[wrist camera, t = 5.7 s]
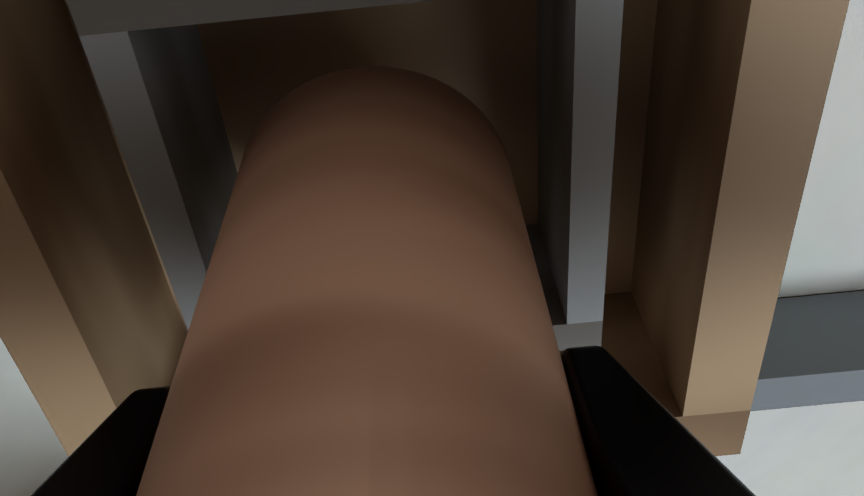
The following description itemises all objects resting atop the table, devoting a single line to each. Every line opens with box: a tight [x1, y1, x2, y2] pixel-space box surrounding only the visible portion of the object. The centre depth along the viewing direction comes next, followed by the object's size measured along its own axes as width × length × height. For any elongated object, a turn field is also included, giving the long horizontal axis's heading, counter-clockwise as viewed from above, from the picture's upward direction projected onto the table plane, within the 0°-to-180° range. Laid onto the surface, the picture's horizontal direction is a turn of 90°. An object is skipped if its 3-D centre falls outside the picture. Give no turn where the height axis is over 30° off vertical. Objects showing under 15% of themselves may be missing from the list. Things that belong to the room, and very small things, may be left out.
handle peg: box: [136, 66, 598, 496], centre depth 7 cm, size 4×4×10 cm
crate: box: [0, 0, 849, 456], centre depth 12 cm, size 12×12×4 cm
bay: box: [750, 291, 864, 411], centre depth 13 cm, size 15×27×4 cm, turn 95°
